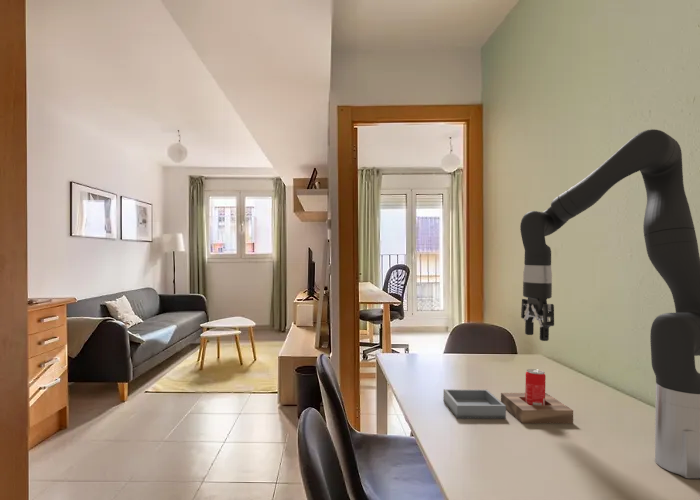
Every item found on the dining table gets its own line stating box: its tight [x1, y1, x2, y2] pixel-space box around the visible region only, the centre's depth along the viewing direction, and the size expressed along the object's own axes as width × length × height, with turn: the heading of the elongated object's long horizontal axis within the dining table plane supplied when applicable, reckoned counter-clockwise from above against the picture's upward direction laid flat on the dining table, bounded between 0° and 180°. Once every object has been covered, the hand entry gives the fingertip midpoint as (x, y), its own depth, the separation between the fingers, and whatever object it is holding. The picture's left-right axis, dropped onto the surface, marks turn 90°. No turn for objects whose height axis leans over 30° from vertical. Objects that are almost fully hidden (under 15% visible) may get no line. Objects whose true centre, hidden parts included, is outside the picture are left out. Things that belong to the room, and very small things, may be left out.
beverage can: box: [524, 368, 546, 405], centre depth 117 cm, size 5×5×12 cm
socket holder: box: [500, 392, 574, 424], centre depth 117 cm, size 14×14×4 cm
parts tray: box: [442, 388, 507, 420], centre depth 120 cm, size 14×14×4 cm
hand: (536, 337), depth 118 cm, fingers open, 8 cm apart
